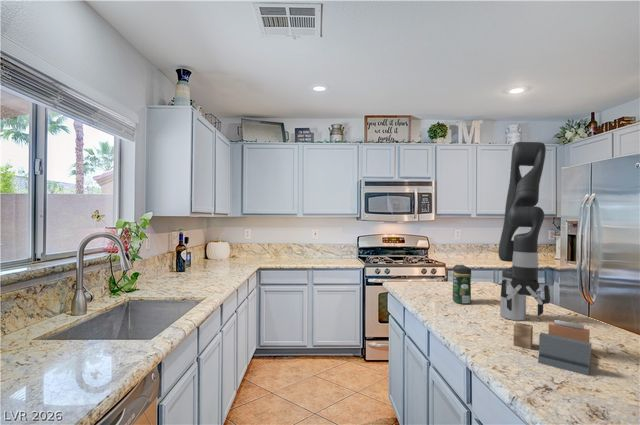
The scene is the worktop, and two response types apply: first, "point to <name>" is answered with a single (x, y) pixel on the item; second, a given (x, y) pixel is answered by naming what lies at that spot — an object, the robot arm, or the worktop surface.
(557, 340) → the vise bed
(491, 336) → the worktop surface
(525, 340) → the walnut block
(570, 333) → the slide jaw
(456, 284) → the coffee jar
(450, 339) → the worktop surface
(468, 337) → the worktop surface
